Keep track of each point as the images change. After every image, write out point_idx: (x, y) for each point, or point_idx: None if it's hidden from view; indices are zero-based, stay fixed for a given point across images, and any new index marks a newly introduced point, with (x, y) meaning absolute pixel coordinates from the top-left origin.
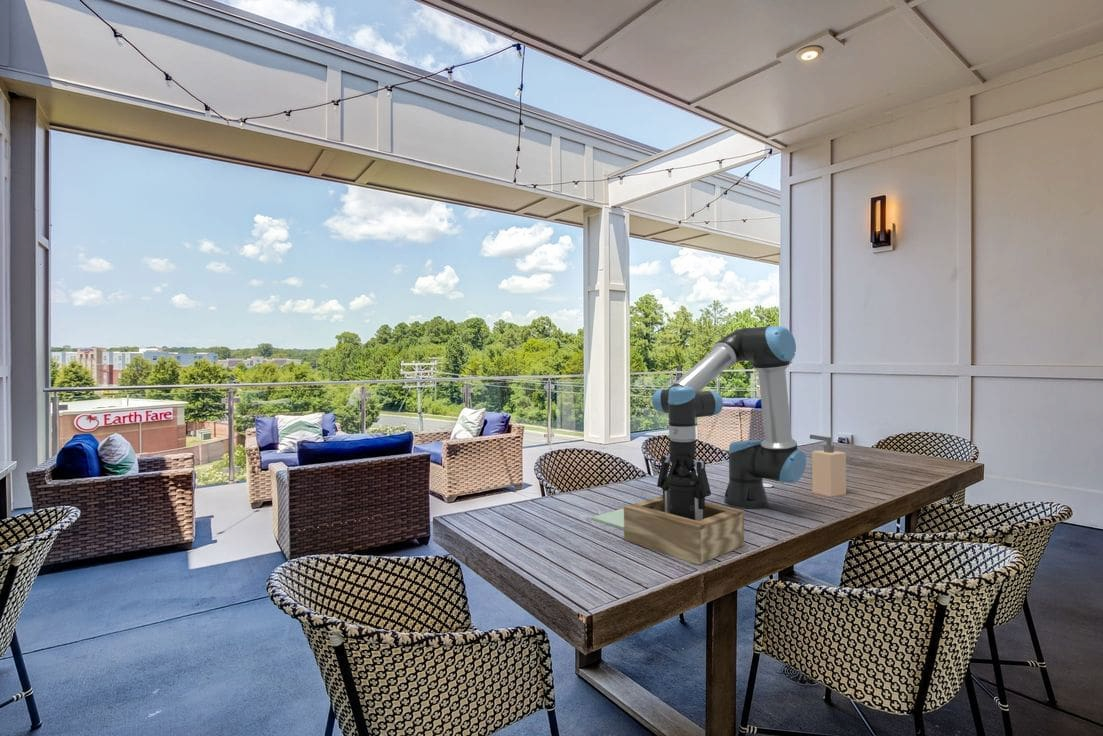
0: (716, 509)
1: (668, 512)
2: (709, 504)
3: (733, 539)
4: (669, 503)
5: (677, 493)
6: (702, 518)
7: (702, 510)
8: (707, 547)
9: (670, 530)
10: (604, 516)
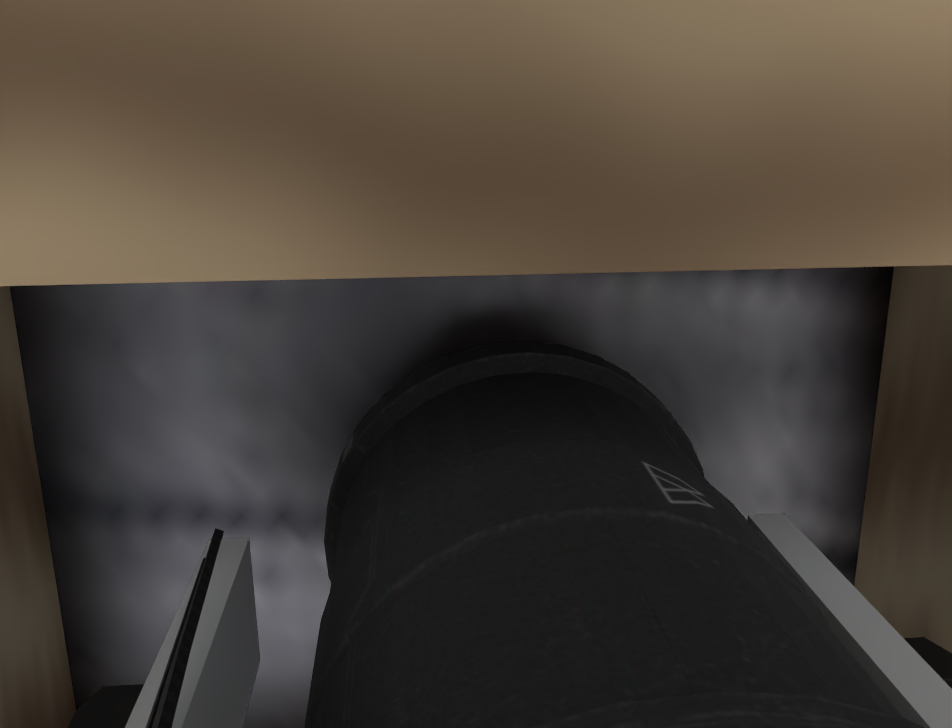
0: (926, 263)
1: (257, 634)
2: (707, 113)
3: None
4: (230, 696)
5: None
6: (787, 524)
7: (844, 581)
8: None
9: None
10: None
